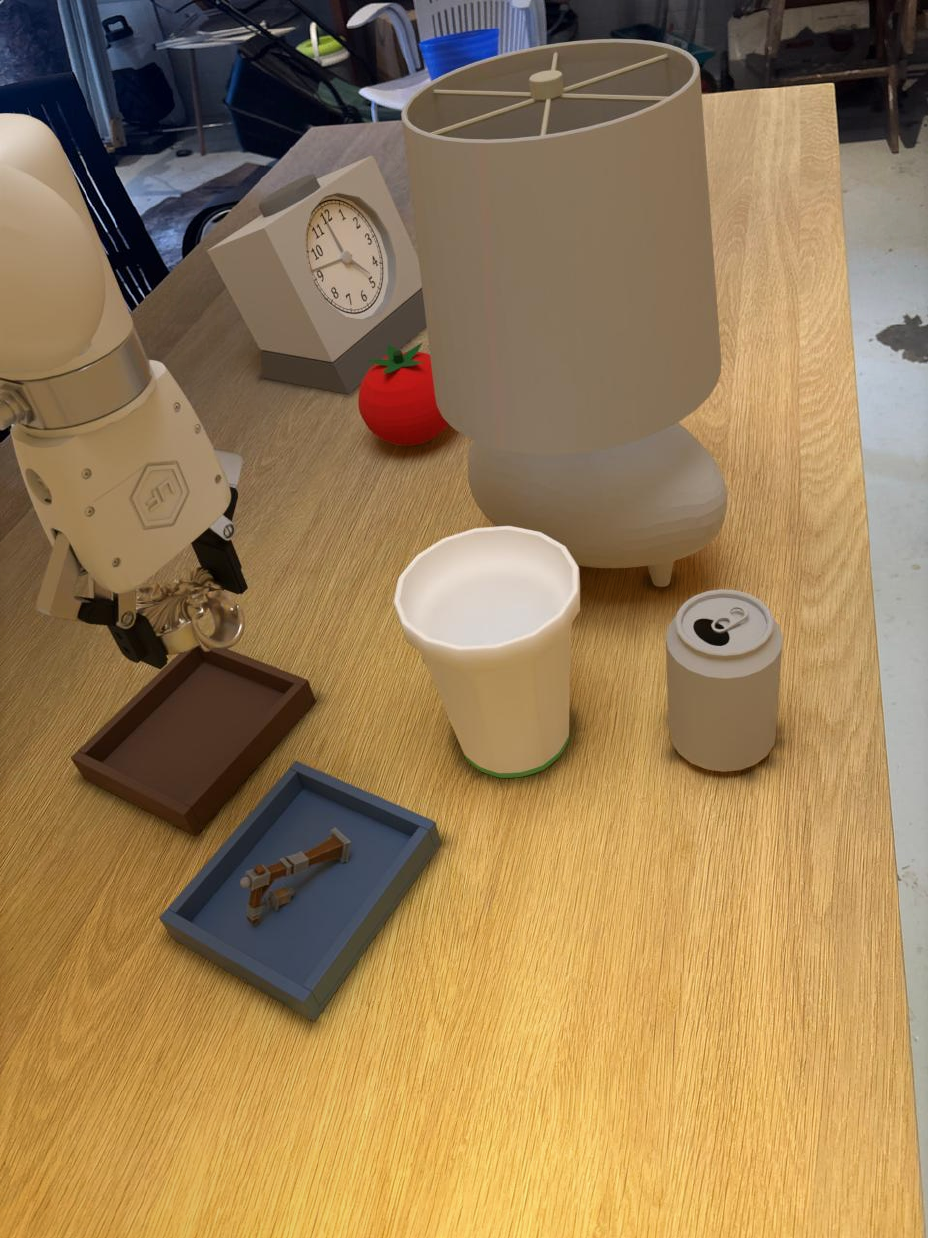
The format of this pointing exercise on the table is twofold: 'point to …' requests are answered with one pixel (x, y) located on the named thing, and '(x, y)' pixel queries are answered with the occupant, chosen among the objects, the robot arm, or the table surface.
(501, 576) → the cup
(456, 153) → the table lamp
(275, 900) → the wooden post with brackets
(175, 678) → the walnut tray
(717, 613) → the can
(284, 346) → the alarm clock
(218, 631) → the ornament
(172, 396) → the robot arm
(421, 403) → the tomato
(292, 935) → the blue tray
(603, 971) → the table surface
